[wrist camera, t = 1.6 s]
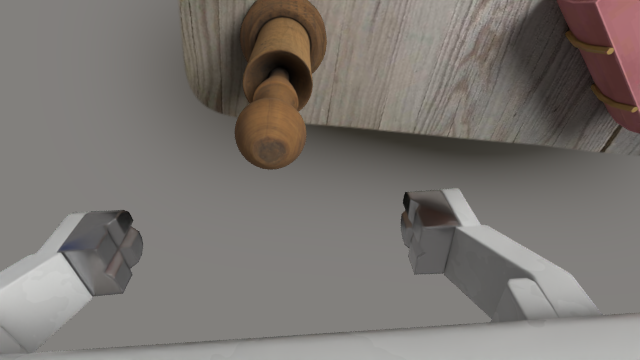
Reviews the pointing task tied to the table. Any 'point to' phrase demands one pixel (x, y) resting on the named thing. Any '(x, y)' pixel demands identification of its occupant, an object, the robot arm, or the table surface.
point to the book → (609, 52)
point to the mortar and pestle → (278, 79)
